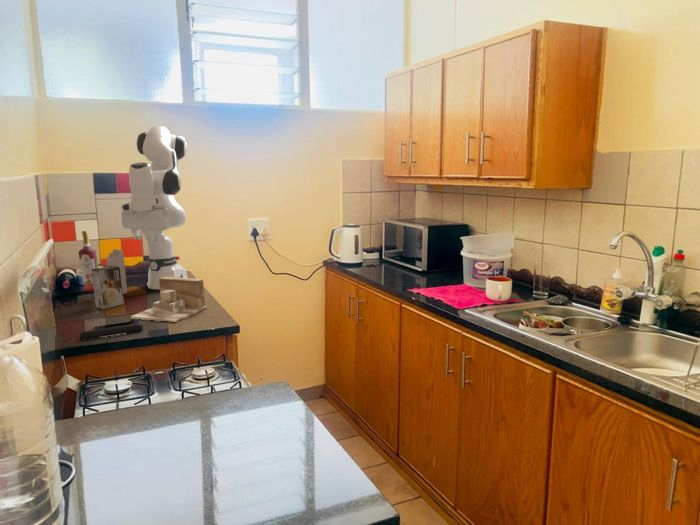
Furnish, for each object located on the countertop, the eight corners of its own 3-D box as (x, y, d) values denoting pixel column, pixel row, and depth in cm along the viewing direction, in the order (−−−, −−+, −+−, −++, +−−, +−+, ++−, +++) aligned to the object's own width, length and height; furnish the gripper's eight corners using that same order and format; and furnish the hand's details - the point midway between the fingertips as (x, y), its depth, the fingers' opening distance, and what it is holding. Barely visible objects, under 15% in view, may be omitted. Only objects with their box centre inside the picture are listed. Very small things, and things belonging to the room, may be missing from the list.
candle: (94, 298, 233) (89, 253, 229) (118, 290, 246) (114, 248, 242) (107, 299, 231) (102, 254, 227) (130, 291, 243) (126, 248, 240)
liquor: (102, 288, 250) (96, 230, 244) (97, 292, 243) (90, 232, 237) (86, 289, 249) (79, 230, 243) (80, 293, 242) (73, 232, 236)
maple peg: (168, 309, 210) (166, 289, 208) (177, 310, 209) (175, 290, 207) (161, 312, 206) (160, 292, 205) (170, 312, 205) (168, 292, 203)
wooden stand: (165, 304, 221) (163, 276, 218) (207, 308, 214) (205, 279, 212) (131, 318, 202) (128, 288, 199) (175, 323, 195) (172, 291, 193)
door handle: (77, 324, 189) (79, 333, 175) (137, 315, 199) (143, 324, 185) (78, 333, 190) (80, 343, 176) (138, 324, 199) (144, 333, 185)
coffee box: (116, 302, 226) (112, 265, 223) (124, 304, 222) (120, 266, 219) (95, 306, 219) (90, 268, 216) (103, 309, 215) (98, 270, 212)
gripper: (171, 205, 206) (175, 240, 209) (128, 203, 212) (132, 237, 215) (161, 207, 200) (165, 243, 203) (117, 205, 206) (121, 240, 209)
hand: (147, 240), depth 209 cm, fingers open, 8 cm apart
